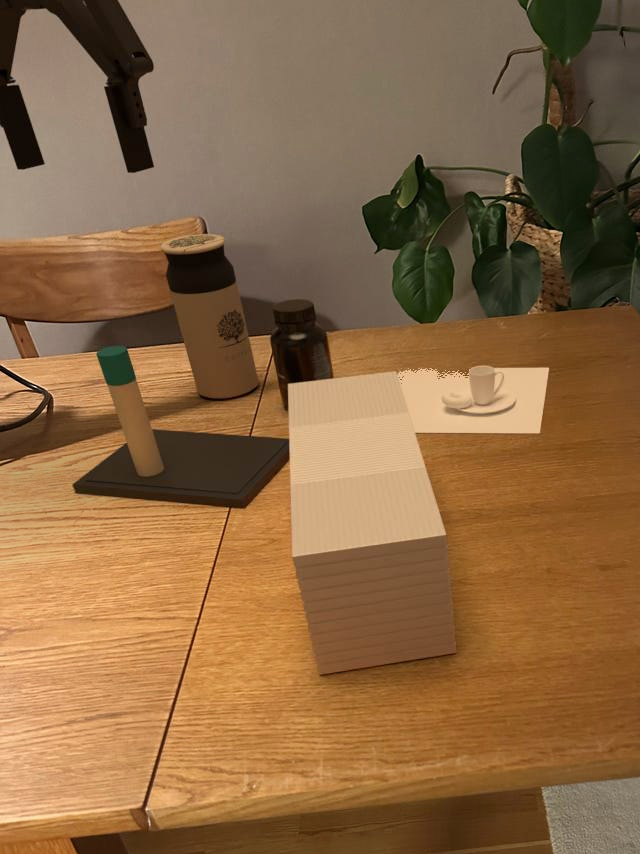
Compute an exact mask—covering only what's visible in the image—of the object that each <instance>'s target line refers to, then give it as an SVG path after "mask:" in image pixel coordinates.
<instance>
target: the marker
mask: <svg viewBox="0 0 640 854" xmlns="http://www.w3.org/2000/svg"><path fill="white" fill-rule="evenodd" d="M96 357H97V361H98V364H99V366H100V369H101V372H102V375H103V378H104V380H105V383H106V385H107V388H108V391H109V395H110V397H111V400H112V403H113V407H114V410H115V412H116V416H117V418H118V421H119V424H120V426H121V430H122V433H123V436H124V438H125V441H126V442H125V443H127V444H128V447H129V450H130V453H131V456H132V459H133V462H134V465H135V468H136V471H137V474H138V475H139V476H142V477H149V476H154V475H157V474H159V473H161V472H162V471H163V470H164V466H163V463H162V460H161V456H160V453H159V450H158V447H157V444H156V441H155V437H154V434H153V431H152V429H153V428H152V424H151V421H150V419H149V416H148V412H147V409H146V406H145V403H144V399H143V396H142V394H141V390H140V387H139V383H138V380H137V376H136V373H135V369H134V366H133V363H132V360H131V357H130V353H129V350H128V348H127V347H126V346H125V345H111V346H106V347H103V348H101V349H99V350H97V351H96Z"/></svg>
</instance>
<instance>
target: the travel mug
mask: <svg viewBox="0 0 640 854" xmlns="http://www.w3.org/2000/svg"><path fill="white" fill-rule="evenodd" d="M225 243H226V238H225V237H224V236H222V235H219V234H211V233H198V234H189V235H183V236H179V237H174V238H172V239H169V240H166V241H163V242H162V244H160V250H161V252H163V253H164V256H165V257H166V260H167V262H168V264H167V268H166V273H165V278H166V281H167V285H168V288H169V292H170V296H171V301H172V303H173V307H174V310H175V314H176V317H177V322H178V325H179V328H180V333H181V337H182V340H183V344H184V347H185V351H186V355H187V358H188V362H189V366H190V369H191V373H192V376H193V381H194V383H195V384H194V385H195V387H196V391H197V393H198V394H199V395H200V396H203V397H205V398H209V399H214V400H226V399H232V398H238V397H240V396H243V395H247V394H248V393H250V392H251V391H252V390H254V389H255V388H257V387H258V385H259V375H258V371H257V367H256V363H255V359H254V354H253V350H252V345H251V341H250V335H249V331H248V327H247V323H246V318H245V314H244V309H243V305H242V299H241V295H240V291H239V287H238V282H237V277H236V274H235V273H236V272H235V268H234V266H233V264H232V263H231V262H230V260H229V258H228V257H227V256H226V255H225Z"/></svg>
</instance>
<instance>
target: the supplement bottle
mask: <svg viewBox="0 0 640 854" xmlns="http://www.w3.org/2000/svg"><path fill="white" fill-rule="evenodd" d="M272 313H273V321H274V325H275V326H277V327H275V328H274V330H273V331H272V332H271V334H270V338H269V341H270V347H271V348H270V349H271V353H272V357H273V364H274V368H275V374H276V377H277V383H278V388H279V392H280V397H281V402H282V404H283V406H284V407H285V409H287V410H289V409H288V384H293V383H300V382H308V381H317V380H326V379H334V378H335V376H334V375H335V374H334V369H333V363H332V357H331V351H330V344H329V338H328V333H327V331H326V330H325V328H324V327H323V326H322V325H321V324H319V323H317V322H316V321H317V320H318V319H317V314H316V310H315V304H314V302H313V301H312V300H309V299H304V298H303V299H302V298H295V299H294V298H293V299H287V300H282V301H279V302H276V303H275V304H273V306H272Z"/></svg>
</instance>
